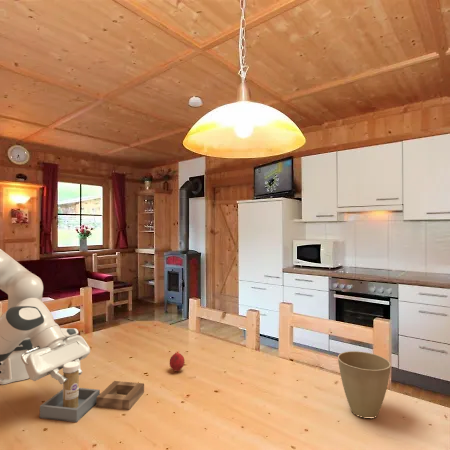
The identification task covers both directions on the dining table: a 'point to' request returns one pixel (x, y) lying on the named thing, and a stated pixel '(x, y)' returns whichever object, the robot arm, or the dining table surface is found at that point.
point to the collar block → (118, 401)
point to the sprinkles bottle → (71, 384)
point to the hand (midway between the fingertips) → (72, 378)
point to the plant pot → (364, 381)
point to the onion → (177, 361)
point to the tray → (58, 412)
